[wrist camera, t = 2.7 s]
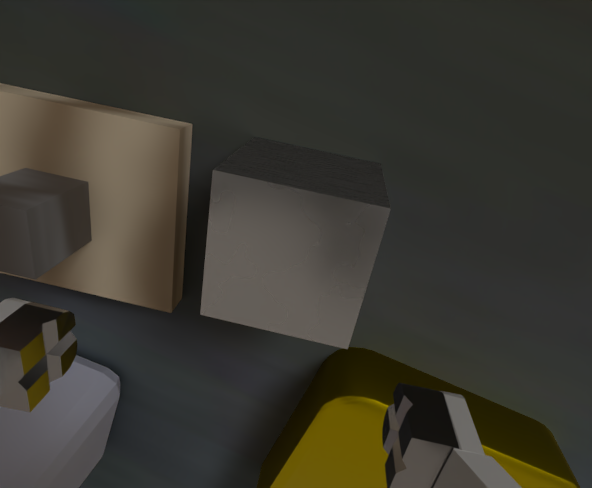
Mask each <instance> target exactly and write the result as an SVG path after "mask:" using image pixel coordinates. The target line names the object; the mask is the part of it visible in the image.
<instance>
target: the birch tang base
mask: <svg viewBox="0 0 592 488" xmlns="http://www.w3.org/2000/svg"><path fill="white" fill-rule="evenodd" d="M192 126H193V124H190V123H185V122H181V121H176V120H171V119H167V118H162V117H157V116H153V115H148V114H143V113H138V112H134V111H129V110H124V109H120V108H115V107H110V106H106V105H101V104H96V103H91V102H87V101H82V100H77V99H73V98H68V97H63V96H59V95H54V94H49V93H44V92H40V91H35V90H30V89H26V88H21V87H16V86H12V85H7V84H2V83H0V273H4V274H8V275H12V276H17V277H21V278H25V279H29V280H34V281H38V282H42V283H46V284H50V285H55V286H59V287H63V288H67V289H72V290H76V291H80V292H84V293H89V294H93V295H97V296H101V297H106V298H110V299H114V300H118V301H123V302H127V303H131V304H135V305H140V306H144V307H148V308H152V309H156V310H161V311H165V312H169V313H172V311H173V310H174V308H175V307H176V306H177V304H178V303H179V302H180V300H181V299H182V290H183V273H184V257H185V241H186V224H187V208H188V191H189V175H190V158H191V142H192Z"/></svg>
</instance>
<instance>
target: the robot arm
mask: <svg viewBox="0 0 592 488" xmlns="http://www.w3.org/2000/svg"><path fill="white" fill-rule="evenodd" d="M75 325H76V324H75V317H74V314H73V313H72V312H70V311H67V310H63V309H59V308H55V307H51V306H47V305H43V304H38V303H34V302H28V301H24V300H20V299H16V298H9V299H5V300H3V301H2V302H1V303H0V407H5V408H10V409H15V410H20V411H25V412H31V411H32V410H33V409H34V408H35V407H36V405H37V404H38V403H39V402H40V401H41V400H42V399H43V398H44V397H45V396H46V394H47V393H48V392H49V391H50V382H51V381H54V380H56V379H58V378H60V377H63V375H64V374H65V373H66V372H67V371H68V370H69V368H70V367H71V365H72V363H73V361H74V359H75V357H76V352H77V339H76V337H75V336H74V335H73V334H72V332H71V331H70V330H71V329H72V328H73V327H74V326H75ZM393 399H394V404H392V405H391V406H389V407H388V408H387V411H386V414H385V417H384V422H383V428H382V441H383V448H384V450H385V451H386V452H387V454H388V455H389V456H388V458H387V461H386V463H385V473H386V482H387V488H522V487H521V486H520V485H519V484H518V483H517V482H516V481H515V480H514V479H513V478H512V477H511V476H510V475H509V474H508V473H507V472H506V471H505V470H504V469H503V468H502V467H501V466H500V465H499V464H498V463H497V462H496V461H495V459H494V458H493V457H491V456H487V455H485V453H484V450H483V448H482V445H481V442H480V439H479V437H478V434H477V431H476V428H475V426H474V423H473V420H472V417H471V415H470V412H469V409H468V406H467V404H466V401H465V398H464V397H463V396H462V395H460V394H455V393H450V392H445V391H438V390H433V389H429V388H424V387H419V386H414V385H409V384H405V383H400V382H399V383H398V384H397V386H396V387H395V390H394V392H393Z"/></svg>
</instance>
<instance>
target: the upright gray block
mask: <svg viewBox="0 0 592 488" xmlns="http://www.w3.org/2000/svg"><path fill="white" fill-rule="evenodd" d="M390 210H391V207H390V203H389V198H388V194H387V189H386V185H385V181H384V176H383V172H382V167H381V164H378V163H374V162H369V161H364V160H359V159H355V158H350V157H345V156H341V155H336V154H331V153H327V152H322V151H317V150H312V149H308V148H303V147H298V146H294V145H289V144H284V143H280V142H275V141H270V140H265V139H261V138H256V137H254V138H253V139H251V140H250V141H249V142H248V143H246V144H245V145H244V146H243V147H241V148H240V149H239V150H237V151H236V152H235V153H234V154H232V155H231V156H230V157H229V158H227V159H226V160H225V161H223V162H222V163H221V164H220V165H218V166H217V167H216V168H215V169H213V173H212V185H211V196H210V207H209V219H208V230H207V242H206V253H205V265H204V276H203V288H202V299H201V310H200V315H204V316H208V317H212V318H217V319H221V320H225V321H229V322H234V323H238V324H242V325H246V326H251V327H255V328H259V329H263V330H268V331H272V332H276V333H280V334H285V335H289V336H293V337H297V338H302V339H306V340H310V341H314V342H319V343H323V344H327V345H331V346H336V347H340V348H344V349H348V347H349V343H350V340H351V337H352V334H353V330H354V327H355V324H356V321H357V317H358V314H359V311H360V308H361V304H362V301H363V298H364V295H365V291H366V288H367V285H368V281H369V278H370V275H371V272H372V268H373V265H374V262H375V259H376V255H377V252H378V249H379V246H380V242H381V239H382V236H383V233H384V229H385V226H386V223H387V220H388V216H389V213H390Z"/></svg>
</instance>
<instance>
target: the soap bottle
mask: <svg viewBox="0 0 592 488" xmlns="http://www.w3.org/2000/svg"><path fill="white" fill-rule="evenodd" d="M119 397H120V380H119V376H118V375H116V374H115V373H114V372H113V371H112V370H110V369H109V368H107V367H105V366H102V365H100V364H97V363H95V362H92V361H90V360H88V359H85V358H83V357H80V356H78V355H76V357H75V359H74V361H73V363H72V365H71V367H70V368H69V370H68V371H67V372H66V373H65V374H64V375H63V377H60V378H58V379H56V380H54V381H51V382H50V391H49V392H48V393H47V394H46V396H45V397H44V398H43V399H42V400H41V401H40V402H39V403H38V404H37V405H36V407H35V408H34V409H33V410H32V411H31V412H25V411H20V410H15V409H10V408H5V407H0V488H79V487H80V486H81V484H82V483H83V482H84V480H85V479H86V478H87V476H88V475H89V474H90V472H91V471H92V470H93V468H94V467H95V466H96V464H97V463H98V462H99V460H100V459H101V458H102V456H103V453H104V450H105V446H106V443H107V439H108V436H109V432H110V429H111V425H112V422H113V418H114V415H115V411H116V408H117V404H118V401H119Z"/></svg>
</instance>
